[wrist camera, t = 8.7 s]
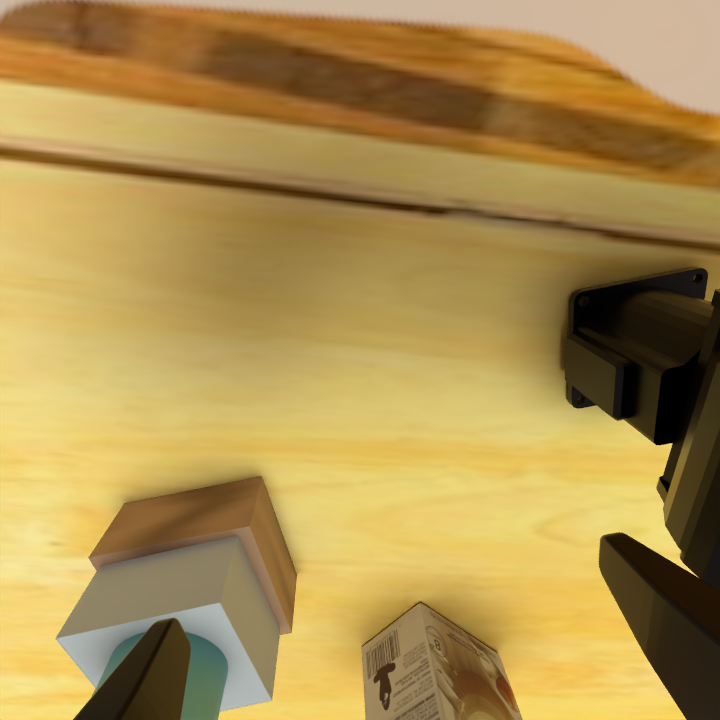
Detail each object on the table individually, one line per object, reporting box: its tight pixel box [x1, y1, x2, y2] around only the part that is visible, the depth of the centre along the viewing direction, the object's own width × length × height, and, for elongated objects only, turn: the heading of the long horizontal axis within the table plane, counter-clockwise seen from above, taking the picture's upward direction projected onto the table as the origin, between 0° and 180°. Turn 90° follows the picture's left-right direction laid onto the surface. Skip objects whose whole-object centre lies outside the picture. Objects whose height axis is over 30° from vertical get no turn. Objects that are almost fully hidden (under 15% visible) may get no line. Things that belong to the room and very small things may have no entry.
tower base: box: [89, 476, 297, 635], centre depth 23 cm, size 8×8×4 cm
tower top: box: [56, 535, 280, 712], centre depth 20 cm, size 7×7×4 cm
